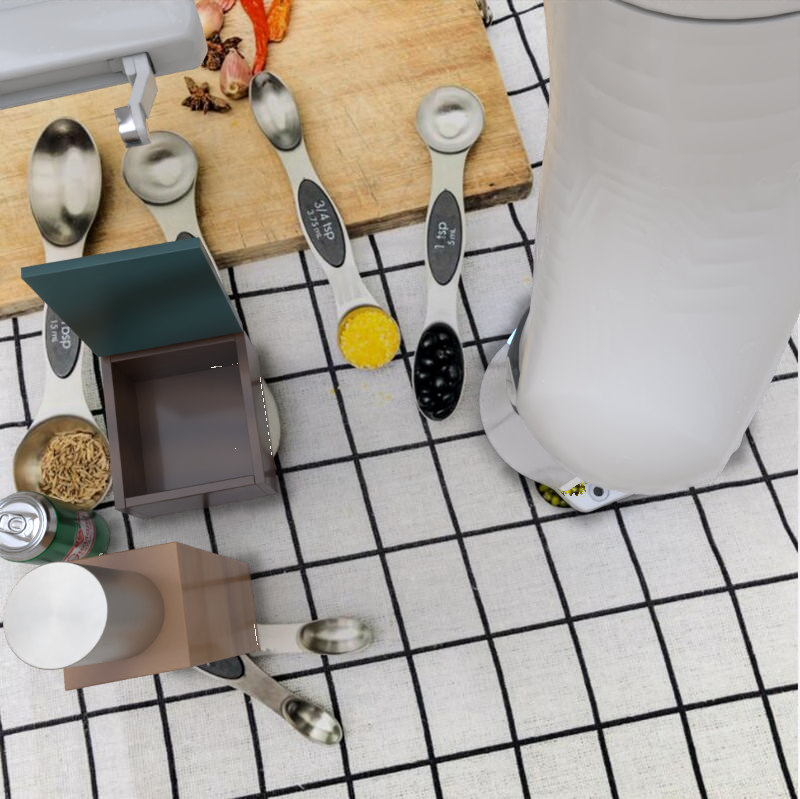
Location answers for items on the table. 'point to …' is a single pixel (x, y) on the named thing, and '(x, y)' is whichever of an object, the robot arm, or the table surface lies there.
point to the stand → (181, 612)
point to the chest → (187, 426)
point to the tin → (81, 615)
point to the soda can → (49, 530)
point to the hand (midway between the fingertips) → (54, 160)
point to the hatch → (137, 296)
